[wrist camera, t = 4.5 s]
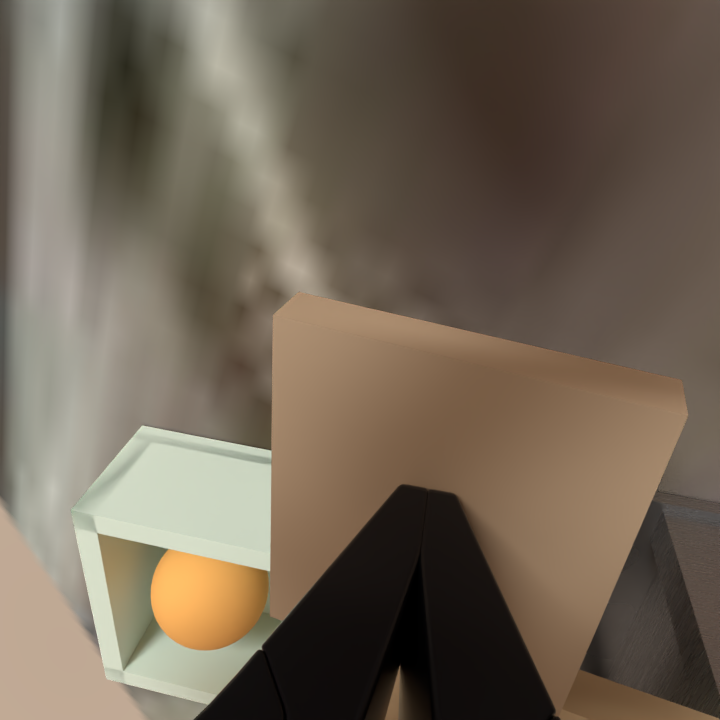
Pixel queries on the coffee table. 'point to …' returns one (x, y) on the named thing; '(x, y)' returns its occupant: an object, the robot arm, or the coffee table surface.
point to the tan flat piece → (472, 469)
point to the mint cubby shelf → (176, 532)
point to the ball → (206, 599)
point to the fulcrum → (666, 608)
